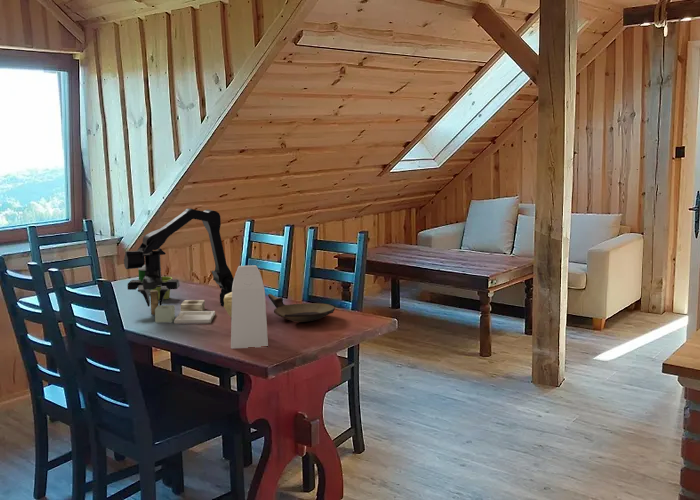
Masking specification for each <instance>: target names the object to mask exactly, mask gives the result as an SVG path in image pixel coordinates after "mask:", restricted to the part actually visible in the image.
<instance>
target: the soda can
mask: <svg viewBox="0 0 700 500" xmlns="http://www.w3.org/2000/svg"><path fill="white" fill-rule="evenodd" d="M137 269H138V280H141V282H142V281H143V278H144V276H145V264H144V266H142V268H137ZM150 291H153V289H149V294H150Z"/></svg>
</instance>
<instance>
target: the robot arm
mask: <svg viewBox="0 0 700 500" xmlns="http://www.w3.org/2000/svg"><path fill="white" fill-rule="evenodd" d="M192 220H197V221H201V222H202V224H203V226H204V228H205V229H206V232H207V233H208V238H209V242H210V246H211V251H212V256H213V261H214V267H215V268H214V270H211V274H212V276H213V278H212V280H213V281H214V282H215V283H216V284H217V286H219V288H220V293H219V304H220V306H221V307H224V297H225V295H226V294H228V293H230V292H232V285H233V281H234V276H233V274H232V271H231V269H230V267H229V266H228V264H227V259H226V256H225V255H226V254H225V250H224V246H223V242H222V237H221V233H220V231H221V225H222V223H221V221H222V220H221V215H220V213H219V212H218V211H217V210H212V209H205V210H198V209H194V208H190V207H189V208H188V207H187V208H186V209H184V210H183V212H181V213H180V214H179V215H177V216H176V217H174V218H173V219H172V220H170V221H169V222H167V223H166V224H165V225H164V226H162V227H161V228H158V229H156V230H152V231H150V232H149V233H147V234H145V235H144V236H143V238H142V241H141V242H142V243H141V244H140V245H139V247H138V249H137V250H125V253H124V258H123V265H124V268H125V270H133V269H138V268H142V266H144V264H145V276H144V278H143V281H142V282H141V280H139V279H131V280H130V281H129V282H127V285H126V286H127V290H128V291H130V290H132V291H134V290H135V291H136V290H137V292H139V293H141V294H142V296H143V297H144V300H145V302H146V305H147V307H151V297H150V293H149V289H156V287H161V289H160V300H158V305H163V302H164V300H165V299H164V296H165V293H166V291H168V290H169V289H170V290H178V288H180V286H181V285H180V280H179V279H172V280H168V281H167V282H162V277H163V276H162V268H161V267H162V266H161V264H162V263H161V256H163V255H166V252H165V251H164V250H163V249H162V246H163V245H164V244H166V243H165V242H166V241H167V240H168V238H169V237H170V236H172V235H173V234H174V233H176V232H177V231H179V230H180V229H181V228H183V227H184V226H185V225H187V224H188V223H189V222H191V221H192Z"/></svg>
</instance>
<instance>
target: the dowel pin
mask: <svg viewBox="0 0 700 500" xmlns="http://www.w3.org/2000/svg"><path fill="white" fill-rule="evenodd" d="M149 298H150V315H153V316H155V309H156V307H157V306H158V305H159V300H158V291H150V293H149Z"/></svg>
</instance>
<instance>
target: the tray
mask: <svg viewBox="0 0 700 500" xmlns="http://www.w3.org/2000/svg"><path fill="white" fill-rule="evenodd" d="M215 316H216V311H215V310H204V311H181V310H180V312H179V313H178V314H177V316H175V319H174V320H173V321H174V325H182V324H183V325H187V324H188V325H191V324H192V325H194V324H196V325H199V324H202V325H203V324H205V325H206V324H212V321H213V320H214V318H215Z"/></svg>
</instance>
